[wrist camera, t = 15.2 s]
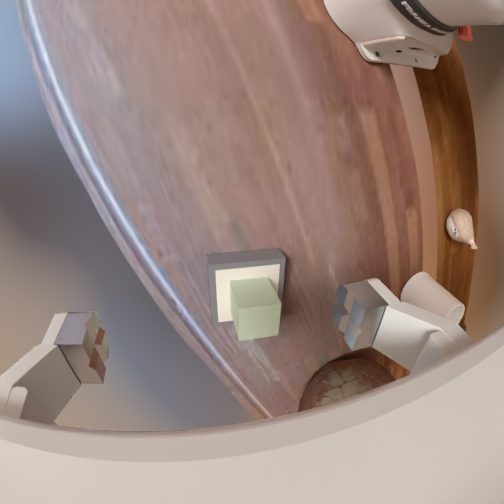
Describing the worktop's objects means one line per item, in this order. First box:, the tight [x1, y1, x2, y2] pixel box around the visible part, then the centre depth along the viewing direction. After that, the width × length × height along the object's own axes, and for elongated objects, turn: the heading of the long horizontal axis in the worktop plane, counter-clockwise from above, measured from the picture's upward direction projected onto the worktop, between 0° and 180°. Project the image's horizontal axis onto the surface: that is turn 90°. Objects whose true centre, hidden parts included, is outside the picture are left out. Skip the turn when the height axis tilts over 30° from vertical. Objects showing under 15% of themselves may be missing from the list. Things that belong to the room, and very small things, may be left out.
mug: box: [400, 272, 465, 324], centre depth 47 cm, size 12×8×12 cm
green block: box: [230, 277, 281, 341], centre depth 35 cm, size 5×5×6 cm
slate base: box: [206, 248, 286, 326], centre depth 39 cm, size 10×10×3 cm
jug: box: [298, 359, 395, 412], centre depth 44 cm, size 22×22×30 cm
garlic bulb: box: [446, 209, 477, 249], centre depth 43 cm, size 7×6×8 cm
